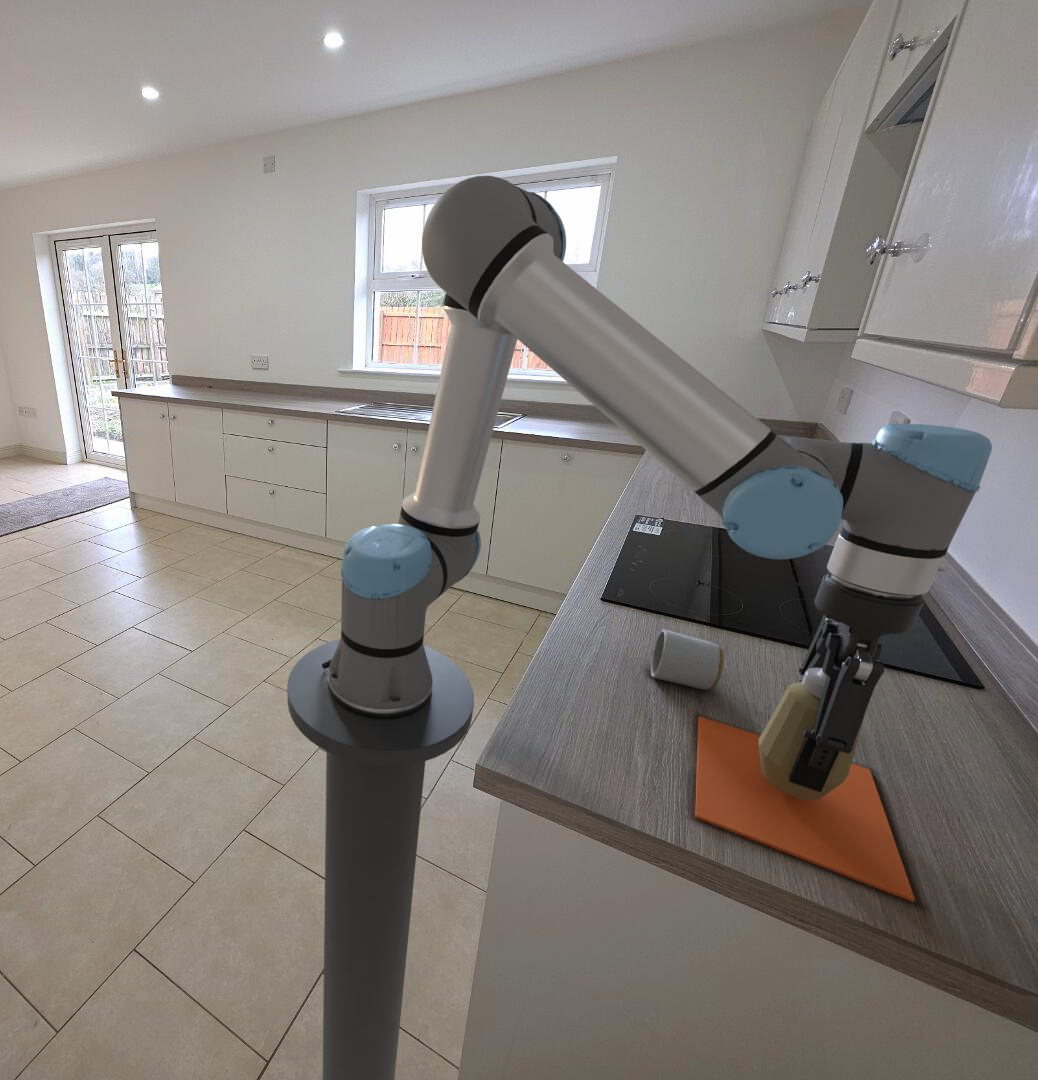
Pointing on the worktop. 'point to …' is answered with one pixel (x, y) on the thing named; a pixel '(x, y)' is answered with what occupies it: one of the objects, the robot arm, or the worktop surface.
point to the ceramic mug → (687, 660)
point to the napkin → (796, 812)
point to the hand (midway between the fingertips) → (799, 760)
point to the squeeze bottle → (798, 737)
